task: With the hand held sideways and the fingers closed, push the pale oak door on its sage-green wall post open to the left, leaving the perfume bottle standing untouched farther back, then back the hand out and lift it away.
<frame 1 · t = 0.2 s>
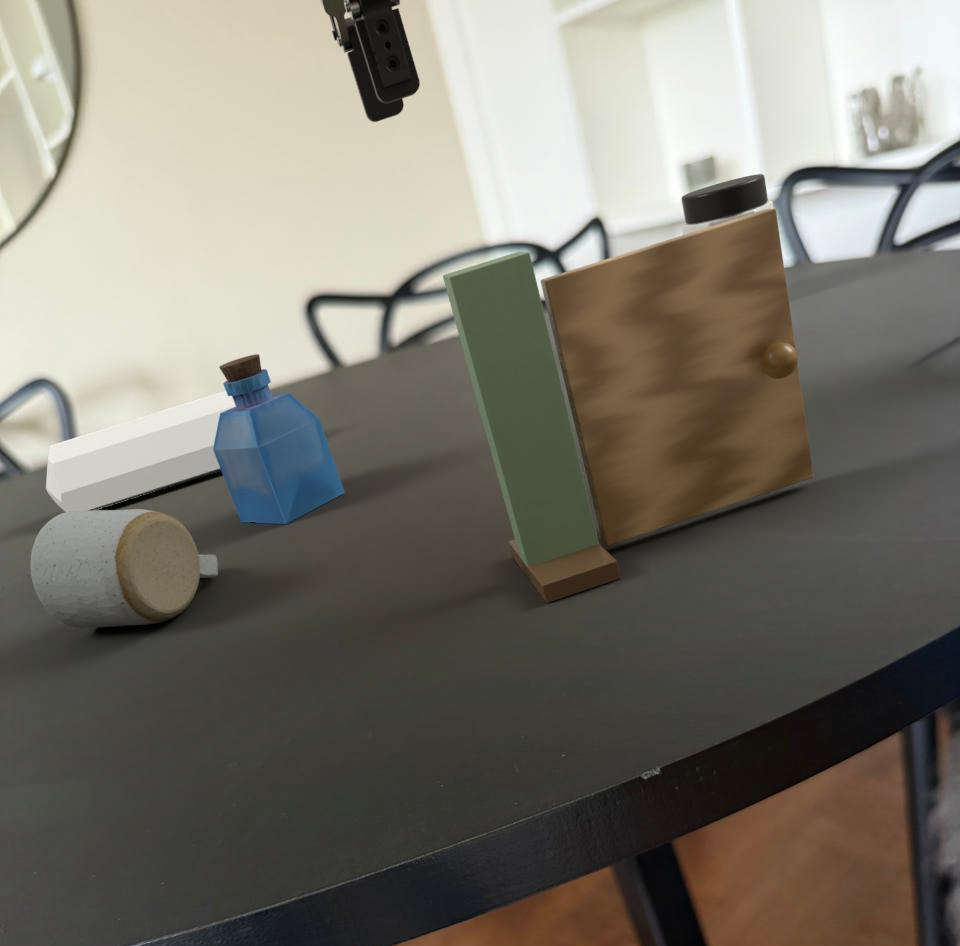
hand: (393, 108, 55), 24 cm above the table, tool pointing down, fingers open, 8 cm apart
perfume bottle: (293, 509, 83), on the table
ceramic mug: (155, 612, 68), on the table
white beveled bar: (175, 484, 105), on the table
jar: (742, 309, 106), on the table
door wall: (563, 567, 55), on the table
door: (691, 386, 52), point 8 cm above the table, hinge at 0.0°
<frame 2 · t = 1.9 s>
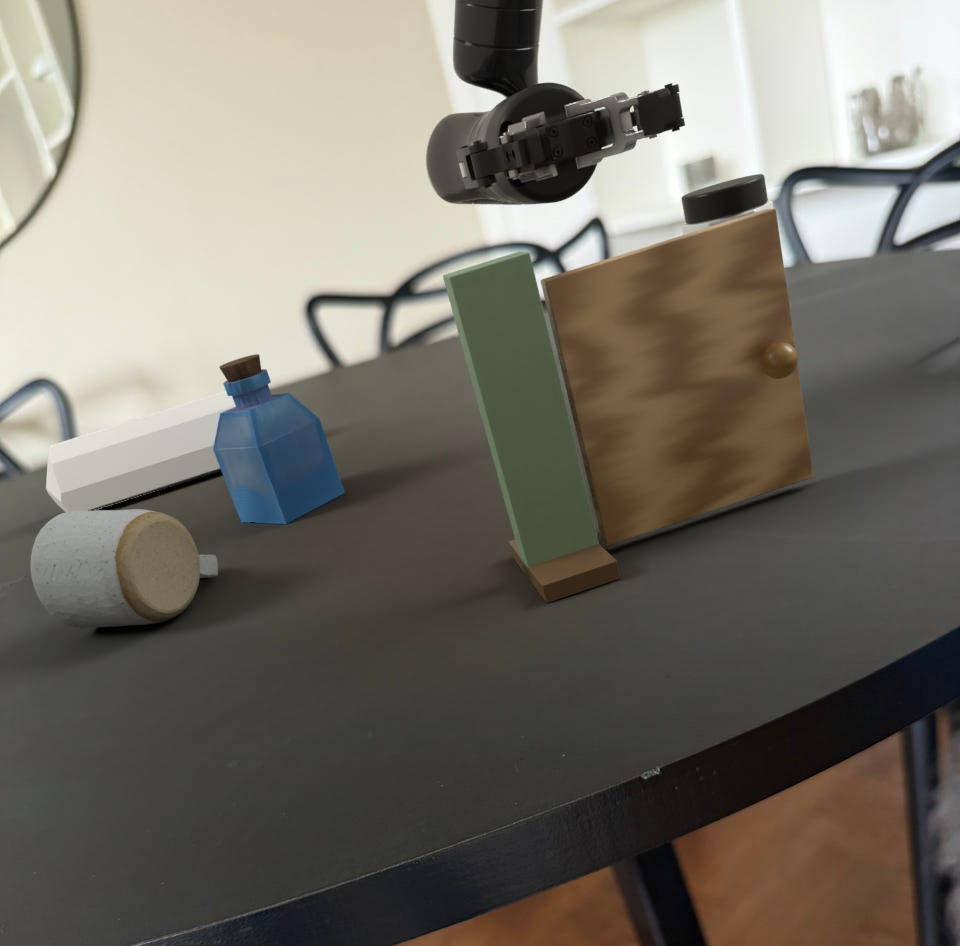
hand: (602, 129, 60), 20 cm above the table, tool horizontal, fingers open, 7 cm apart
nothing on the table moved.
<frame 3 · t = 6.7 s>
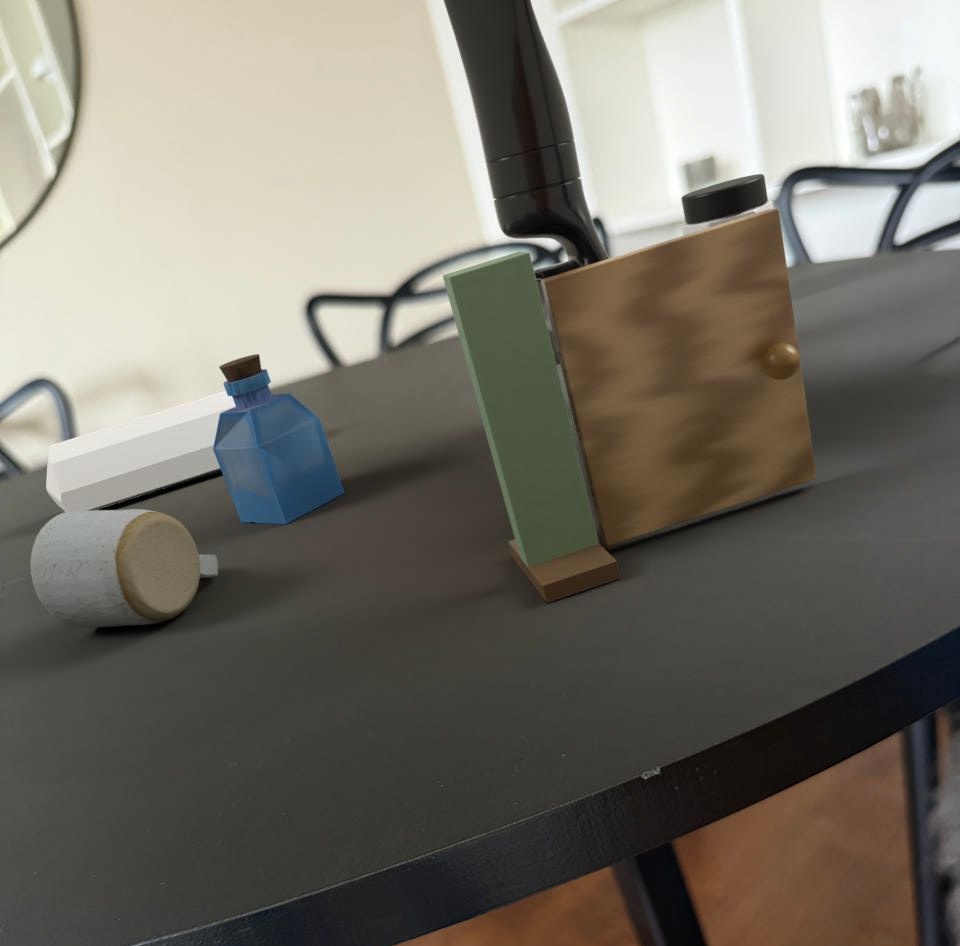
hand: (725, 359, 53), 8 cm above the table, tool horizontal, fingers closed
door: (691, 387, 52), point 8 cm above the table, hinge at 1.7°, touching gripper
everything else where it was.
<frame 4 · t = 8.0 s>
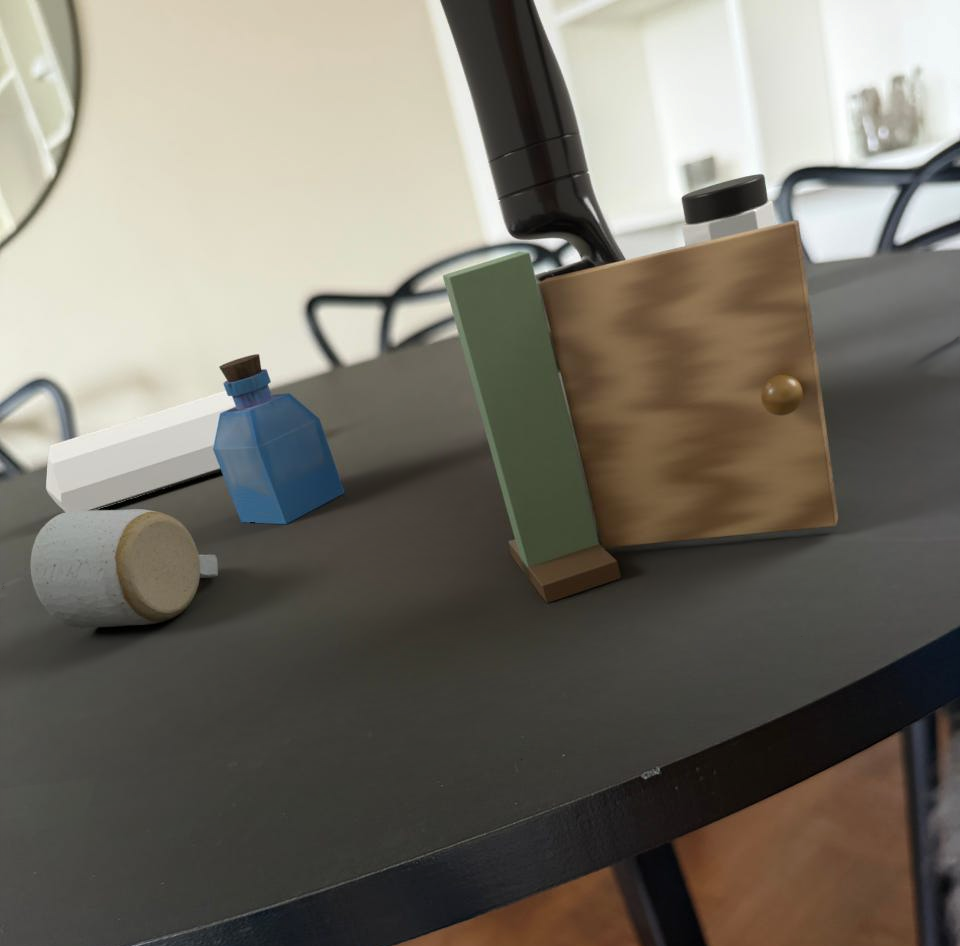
hand: (743, 377, 49), 8 cm above the table, tool horizontal, fingers closed
door: (685, 407, 49), point 8 cm above the table, hinge at 35.8°, touching gripper
everything else where it was.
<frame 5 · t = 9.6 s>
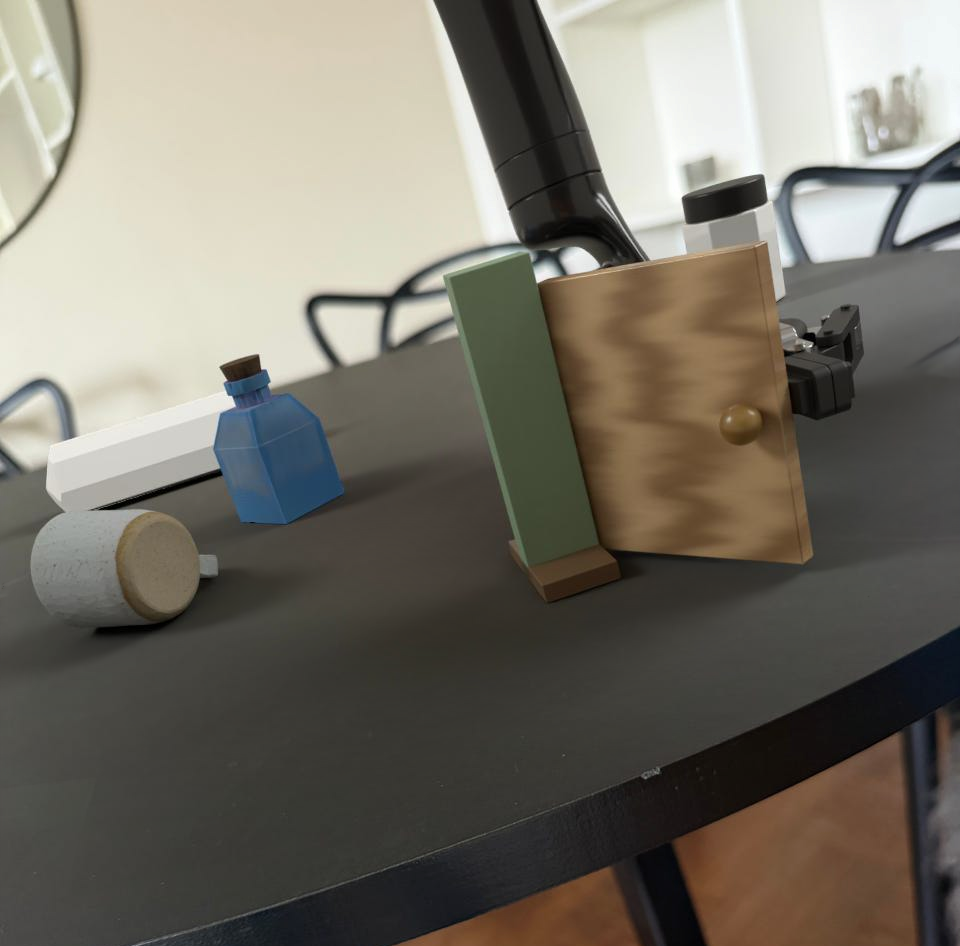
hand: (834, 391, 43), 8 cm above the table, tool horizontal, fingers closed
door: (660, 423, 47), point 8 cm above the table, hinge at 55.7°, touching door wall, gripper
everything else where it was.
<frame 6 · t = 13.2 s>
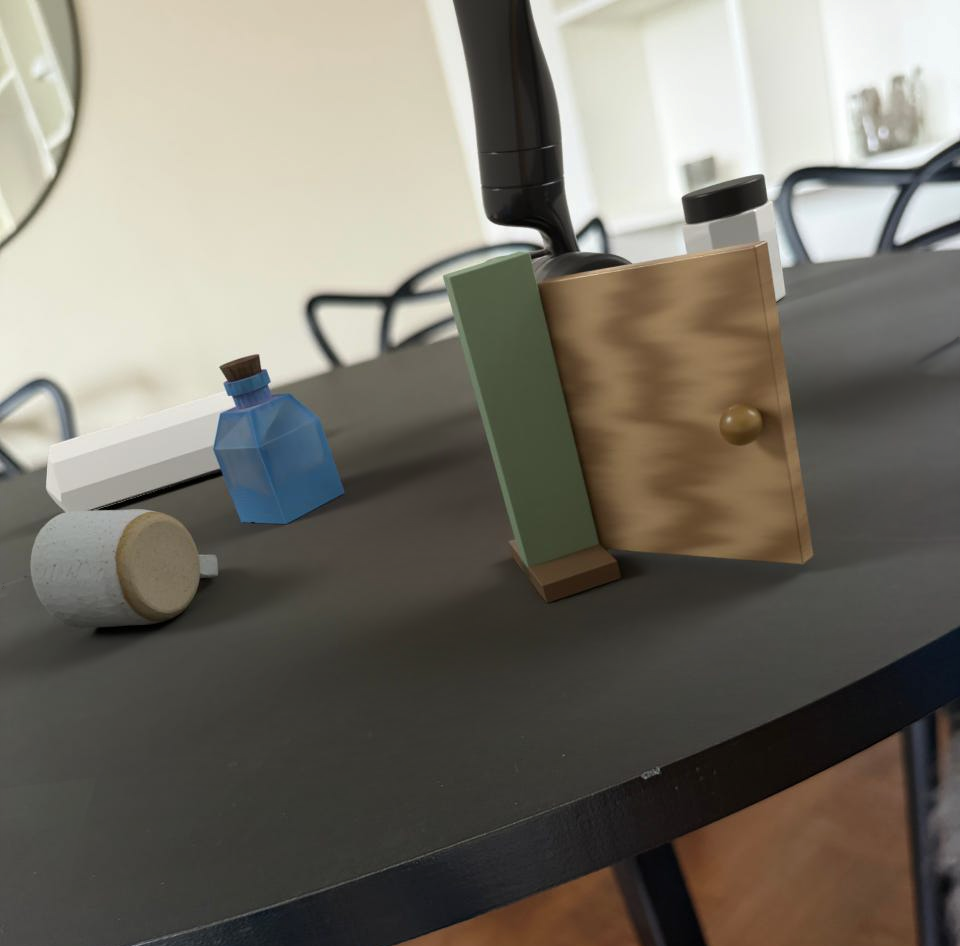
hand: (668, 326, 60), 9 cm above the table, tool horizontal, fingers closed
door: (660, 423, 47), point 8 cm above the table, hinge at 55.7°, touching door wall
everything else where it was.
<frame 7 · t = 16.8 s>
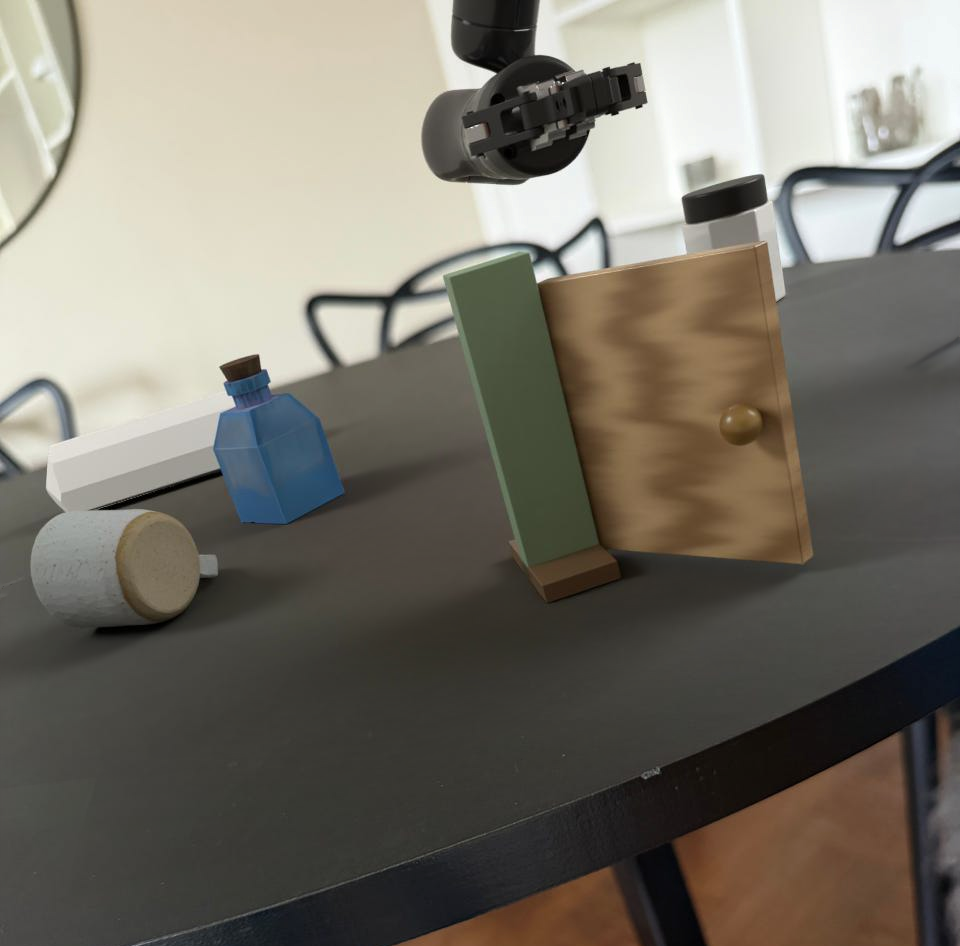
hand: (594, 93, 59), 22 cm above the table, tool horizontal, fingers closed
nothing on the table moved.
at the end: door at +56° (first picture: +0°); perfume bottle moved 0.2 cm from its start; perfume bottle tilted 0° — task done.
